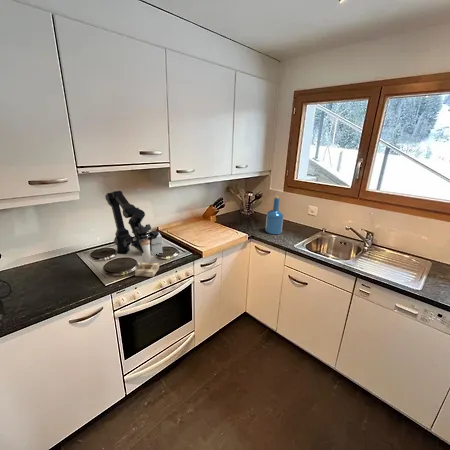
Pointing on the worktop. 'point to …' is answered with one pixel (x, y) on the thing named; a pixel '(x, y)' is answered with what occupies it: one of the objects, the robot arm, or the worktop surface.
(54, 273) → the worktop surface
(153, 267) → the beige square frame
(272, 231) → the wine bottle
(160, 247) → the supplement box
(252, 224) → the worktop surface
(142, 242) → the white pink cylinder
